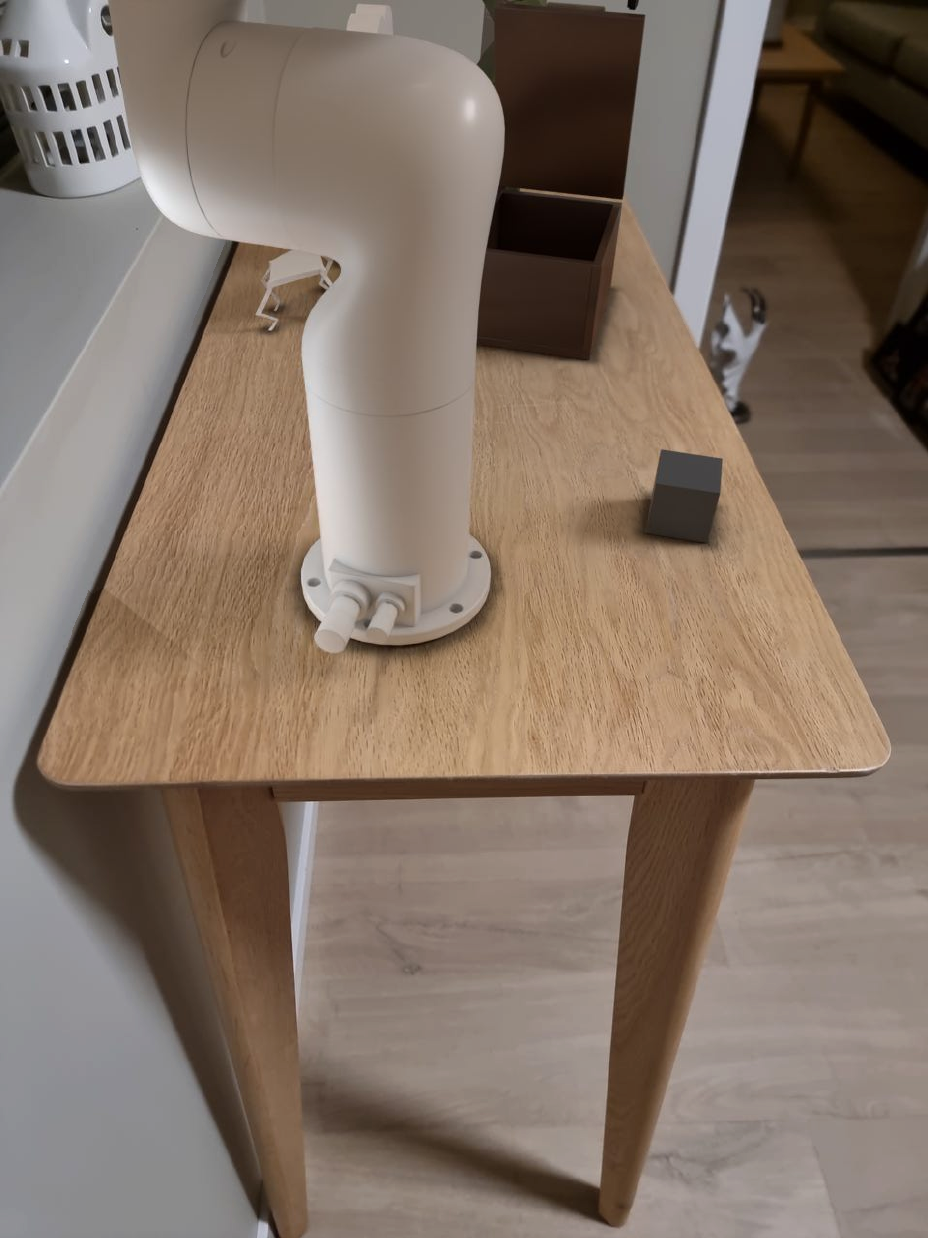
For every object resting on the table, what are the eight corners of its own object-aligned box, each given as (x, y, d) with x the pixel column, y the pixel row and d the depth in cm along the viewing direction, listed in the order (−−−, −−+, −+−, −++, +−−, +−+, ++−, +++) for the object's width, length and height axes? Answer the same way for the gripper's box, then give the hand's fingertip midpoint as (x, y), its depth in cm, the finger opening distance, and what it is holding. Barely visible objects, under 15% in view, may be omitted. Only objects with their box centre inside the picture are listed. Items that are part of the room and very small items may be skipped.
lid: (644, 18, 75) (652, -13, 78) (493, 6, 77) (506, -24, 80) (622, 199, 89) (630, 168, 92) (495, 185, 91) (506, 155, 94)
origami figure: (341, 338, 87) (337, 287, 83) (253, 333, 87) (245, 282, 84) (360, 283, 95) (357, 235, 92) (280, 279, 96) (274, 231, 92)
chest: (589, 360, 85) (601, 265, 79) (456, 341, 87) (458, 248, 81) (610, 289, 96) (622, 202, 90) (492, 274, 98) (496, 187, 92)
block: (707, 543, 66) (720, 493, 63) (645, 533, 67) (655, 483, 64) (710, 507, 69) (722, 458, 66) (651, 498, 70) (661, 448, 67)
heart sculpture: (364, 154, 124) (357, -5, 111) (401, 156, 124) (398, -3, 111) (346, 195, 113) (336, 24, 100) (387, 197, 113) (382, 26, 100)
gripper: (479, -277, 67) (470, 2, 79) (719, -269, 65) (674, 19, 76) (500, -274, 72) (489, -13, 84) (723, -266, 70) (680, 2, 82)
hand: (577, 2), depth 80 cm, fingers open, 9 cm apart
